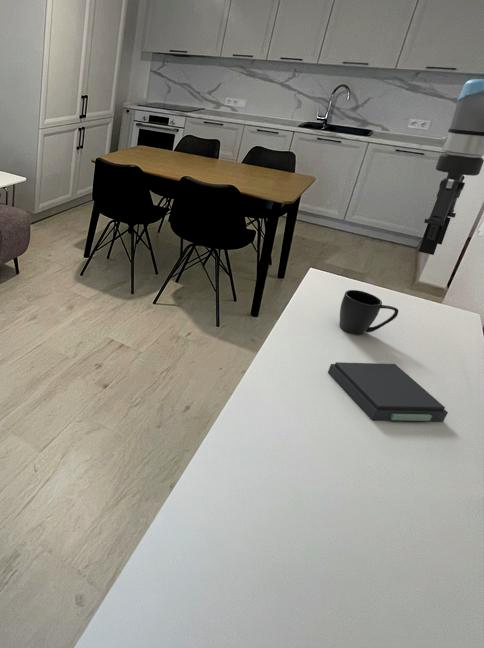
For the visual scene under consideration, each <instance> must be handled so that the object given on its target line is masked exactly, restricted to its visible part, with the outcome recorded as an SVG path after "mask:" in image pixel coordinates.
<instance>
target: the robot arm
mask: <svg viewBox="0 0 484 648" xmlns="http://www.w3.org/2000/svg"><path fill="white" fill-rule="evenodd" d="M441 141H442V142H443V145H442V149H441V150H442V151H443V152H444V153H441V154H440V155H439V157H438V160H437V163H436V166H435V170H436V171H438V172H441V173H447V176H446V177H444V179H442V180H440V182H439V187H438V188H439V189H438V191H437V194H436V200H435V202H434V204H433V207H432V209H431V213H430V215H429V217H428V218H425V219H424V221H423V223H424V224H427V225H426V228H425V231H424V233H423V236H422V238H421V239H422V240H421V243H420V246H419V248H418V252H419V253H422V254H427V255H431V256H434V255H435V252H436V250H437V247H438V245H442V244H443V242H444V239H445V236H446V233H447V231H448V228H449V225H450V222H451V220H452V219H451V218H454V219H455V217H456V215H457V213H456V212H455V207H456V204H457V201H458V199H460V195H461V193H462V191H463V190H464V188H465V184H466V182H464V181H465V178H466V177H465V176H469V177H470V176H472V177H473V176H474V177H475V176H478V175H480V173H481V170H482V167H483V165H484V158H483V157H484V78H482V79H481V78H475V79H474V78H473V79H469V80H467V81H466V82H465V83H464V84H463V87H462V89H461V92H460V94H459V96H458V98H457V100H456V105H455V108H454V111H453V116H452V119H451V122H450V125H449V128H448V131H447V133H446V136H442V138H441Z"/></svg>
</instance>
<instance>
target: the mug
mask: <svg viewBox="0 0 484 648" xmlns="http://www.w3.org/2000/svg"><path fill="white" fill-rule="evenodd" d="M381 309H386V310H392V311H393V313H392V315H391V316H390V317H388V318H387V319H386V320H384V321H383V322H381V323H379V324H377V325H374V326H371V325H372V324H373V323H374V321H375V320H376V318H377V317H378V315H379V314H380V310H381ZM398 314H399V309H398V308H397V307H395V306H391V305H385V304H383V302H382V300H381V299H380V297H378V296H377V295H374V294H372V293H369V292H367V291H366V292H365V291H363V290H359V289H358V290H357V289H349V290H346V291H345V292H344V294H343V297H342V300H341V303H340V308H339V328H340V329H341V330H342V331H344V332H346V333H348V334H350V335H354V336H362V335H364V334H365V333H373V332H375V331H377V330H380V328H382V327H384V326H385V325H387V324H389V323H390V322H392V321H393V320H395V319H396V318H397V316H398Z"/></svg>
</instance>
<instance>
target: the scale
mask: <svg viewBox="0 0 484 648" xmlns="http://www.w3.org/2000/svg"><path fill="white" fill-rule="evenodd" d="M327 373H328V374H329V375H330V377H331V378H333V380H334V381H335V382H336V383H337V384H338V385H339V386H340V387H341V389H343V391H344V392H345V393H346V394H347V395H348V396H349V397H350V398H351V399H352V400H353V401H354V402H355V404H356V405H357V406H359V408H360V409H361V410H362V411H363V412H364V413H365V415H367V416H368V418H369V419H371V420H372V421H393V422H395V421H396V422H397V421H398V422H403V421H404V422H442V423H443V422H445V419H446V417H447V415H448V413H449V412H448V411H447V410H446V406H444V405H443V404H442V403H441V402H439V401H438V400H437V399H436V398H435V397H434V396H433V395H432V394H430V393H429V392H428V391H427V390H426V389H425V388H423V386H422V385H420V384H419V383H418V382H416V381H415V380H414V379H413V378H412V377H411V376H410V375H408V374H407V373H406V372H405V370H403V369H402V368H401V367H399V365H397V364H396V363H378V362H376V363H373V362H342V361H341V362H338V361H337V362H335V363H330V365H329V367H328V370H327Z"/></svg>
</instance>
